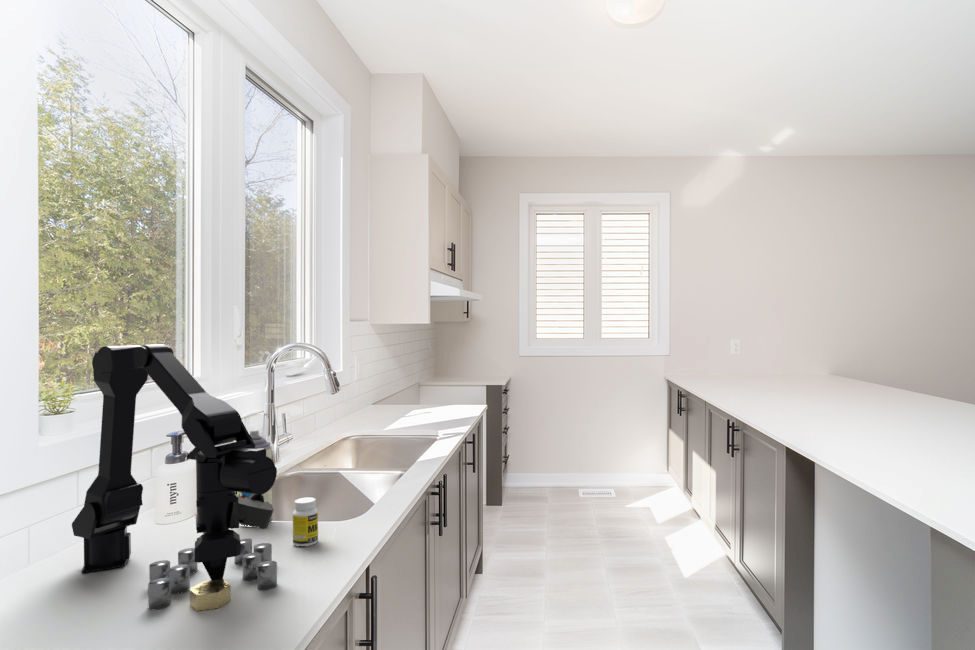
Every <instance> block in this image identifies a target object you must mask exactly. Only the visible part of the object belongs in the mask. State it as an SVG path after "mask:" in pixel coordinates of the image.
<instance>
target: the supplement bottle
mask: <svg viewBox="0 0 975 650" xmlns="http://www.w3.org/2000/svg"><path fill="white" fill-rule="evenodd" d="M316 506H317V499H316V498H315V497H309V496H308V497H300V498H297V499H295V500H294V509H295V510H294V511H292V544H293V545H294V546H295V547H299V546H302V547H303V546H305V547H310V545H311V546H314V545H315V544H316V543H318V542H319V520H318V519H319V514H318V513H319V512H318V511H319V510H318V508H317V507H316Z"/></svg>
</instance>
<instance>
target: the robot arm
mask: <svg viewBox="0 0 975 650" xmlns="http://www.w3.org/2000/svg"><path fill="white" fill-rule="evenodd" d="M91 365H92V371H93V374H92V375H93V381H94V383H95V384H96V386H97V387H98V389H99V391H100V392H101V393H102V397H103V399H102V414H101V426H100V428H101V431H100V440H99V441H100V443H99V459H98V473H97V476H96V477H95V479H94V481H92V483H91V485H90V486H89V488H88V489H87V490H86V492H85V497H84V503H83V507H82V508H81V509H80V511H79V513H78V514H77V515H76V517H75V519H74V520H73V522H72V523H71V528H72V529H71V530H72V533H73V536H75V537H79V538H83V567H82V568H81V573H83V574H84V573H86V574H87V573H90V572H91V573H92V572H97V571H103V570H109V569H116V568H122V567H125V566H126V564H127V561H128V560H129V559H130V558H131V554H132V538H131V537H132V536H131V532H128V527H129V526H134V525H136V524H137V521H138V518H139V515H140V514H139V513H140V509H141V506H143V505H144V504H143V499H142V498H143V497H142V496H143V491H144V486H143V484H142V483H138V482H137V480H136V479H135V478H134V476H133V475H132V464H133V463H132V460H133V447H134V434H135V433H134V432H135V420H136V419H135V418H136V404H137V403H136V401H137V396H138V394H139V392H140V391H141V389H142V388H143V387H144V385H145V384H146V383H147V381H148V377H150V378H151V380H152V381H153V382H154V383H155V385H157V387H158V388H159V389H160V391H161V392H162V393H163V394H164V395H165V396H166V397H167V398H168V400H169V401H170V402H171V403H172V405H173V406H174V408H176V410H178V412H179V414H180V415H181V429H182V430H183V432H184V433H185V435H186V437H187V439H188V440H189V442H190V443H191V444H192V445H193V446H194V448H193V449H192V450H191V451H190V452H188V453H187V454H186V458H187V460H192V461H193V460H194V461H195V471H196V472H195V475H196V476H195V478H196V480H195V481H196V483H195V484H196V498H195V499H196V502H195V503H196V515H195V516H196V517H195V529H196V534H201V533H202V534H201V535H200V536H199V537H197V538H196V540H195V541H194V548H195V562H197V564H200V563H202V566H204V569H205V570H206V572H207V574H208V577H209V578H210V580H218V579H224V574H225V570H226V565H227V561H228V558H235V556H238V555H240V554H241V541H240V539H241V537H240V536H241V535H240V534H239V533H237V532H236V531H235V530H234V529H239V528H240V526H239V523H241V524H245V525H251V526H256V527H255V528H257V527H258V529H260V530H261V529H262V530H267V529H268V528H269V525H270V523H271V522H270V519H271V516H272V517H273V513H274V512H275V509H274V507H273V503H272V504H270V503H269V502H264V497H263V494H264V493H266V492H268V491H269V490H270V489H271V487H272V488H273V486H274V485H275V481H276V480H277V479H276V478H277V473H278V470H277V467H276V464H275V462H274V460H273V459H272V457H271V458H269V457H266V449H262V448H259V449H253V448H255V444H254V442H253V440H252V437H251V436H250V432H249V431H248V429H247V427H246V426H245V424H244V422H243V421H242V420H243V419H242V416H241V414H240V413H239V411H237V410H236V408H234V407H232V406H231V405H230V404H229V403H227V402H226V401H225V400H223V399H220V398H217V397H215V396H213V395H210V393H208V392H207V391H206V390H205V389H204V388H203V386H201V384H200V383H199V382H198V381H197V380H196V378H195V377H194V376H193V375H192V374H191V373H190V371H188V369H187V368H186V367H185V366H184V365H183V364H182V363H181V361H179V359H178V358H177V357H176V356H175V354H174V351H173V349H172V347H171V346H170V345H167V344H164V343H161V344H143V345H134V344H133V345H132V344H131V345H113V346H112V345H111V346H108V345H107V346H101V347H100V348H99V349H98V350H97V351H96V352H95V353H94V354H93V357H92V360H91ZM238 492H244V493H251V495H250V496H249V497H248V498H247V497H245V498H239V497H238ZM269 522H270V523H269Z"/></svg>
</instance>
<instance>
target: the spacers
mask: <svg viewBox="0 0 975 650" xmlns="http://www.w3.org/2000/svg"><path fill="white" fill-rule="evenodd" d="M240 541H241V554H240V555H238V556H235V557H234V564H236V563H237V564H236V565H242V579H243V580H244V581H252V580H253V579H254V580H257V589H258V590H263V591H264V590H265V591H266V589H267V590H270V589H274V588H275V587H277V586H278V566H277V565H278V563H277V561H276V560H272V559H273V556H272V555H273V554H272V553H273V552H272V549H273V547H272V543H270V542H261V543H258V544H256V545H255V544H254V545H253V539H252V538H240ZM242 563H243V564H242ZM148 569H149V573H148V574H149V575H148V576H149V582H148V584H147V590H148V591H147V592H148V593H147V594H148V596H147V599H148V606H147V607H149V608H148V609H149V610H152V609H156V610H161V609H164V607H165V608H167V607H169V606H170V605H171V604H170V603H172V599H171V598H172V594H171V593H179V594H182V593H181V592H183V593H186V592H188V591H189V590H190V589H191V586H190V585H191V582H190V581H191V580H190V579H191V577H190V576H191V574H190V573H192V574H194V573H196V572H198V571H199V570H198V562H195V547H188V548H184V549H181V550H179V551H178V552H177V565H174V566H172V567H171V561H170V560H169V559H168V560H166V559H165V560H164V559H163V560H158V561H157V560H156V561H154V562H151V563H150V564H149V566H148ZM195 571H196V572H195ZM193 572H194V573H193ZM256 578H257V579H256ZM189 588H190V589H189ZM188 589H189V590H188ZM187 590H188V591H187ZM185 591H186V592H185ZM169 604H170V605H169ZM160 608H161V609H160Z"/></svg>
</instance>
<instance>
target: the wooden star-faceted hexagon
mask: <svg viewBox="0 0 975 650" xmlns="http://www.w3.org/2000/svg"><path fill="white" fill-rule="evenodd" d="M231 594H232V593H231V583H229V582H228V581H227V580H226V579H224V578H223V579H218V580H211V579H210V580H203V581H201V582H199V583H198V584H196V585H194V586H192V587H190V589H189V606H190V607H192V608H193V609H194V610H195V611H196V612H200V610H202V611H207V610H206V609H209V610H214V609H215V608H217V609H219V608H220V607H222V606H223V605H225V604H227V603H228V602H229V601H231ZM198 610H199V611H198Z"/></svg>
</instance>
